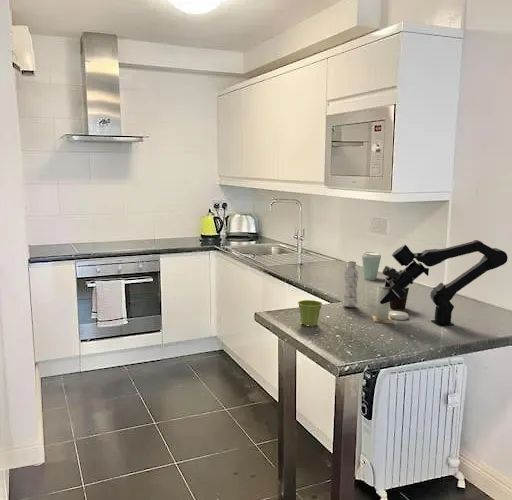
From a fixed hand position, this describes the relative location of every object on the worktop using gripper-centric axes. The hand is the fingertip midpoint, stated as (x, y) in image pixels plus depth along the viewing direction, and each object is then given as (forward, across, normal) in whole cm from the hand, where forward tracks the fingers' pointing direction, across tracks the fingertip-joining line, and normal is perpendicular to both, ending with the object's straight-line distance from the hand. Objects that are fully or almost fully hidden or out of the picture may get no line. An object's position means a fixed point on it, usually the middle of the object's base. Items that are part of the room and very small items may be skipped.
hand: (379, 300), depth 207 cm
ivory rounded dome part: (0, -5, +12) cm, 13 cm away
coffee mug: (-1, -19, +13) cm, 22 cm away
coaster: (+5, 0, +7) cm, 8 cm away
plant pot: (+25, +12, -14) cm, 31 cm away
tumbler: (+4, 0, +6) cm, 8 cm away
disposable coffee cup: (+3, -80, +9) cm, 81 cm away
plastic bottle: (+13, -18, -2) cm, 22 cm away
